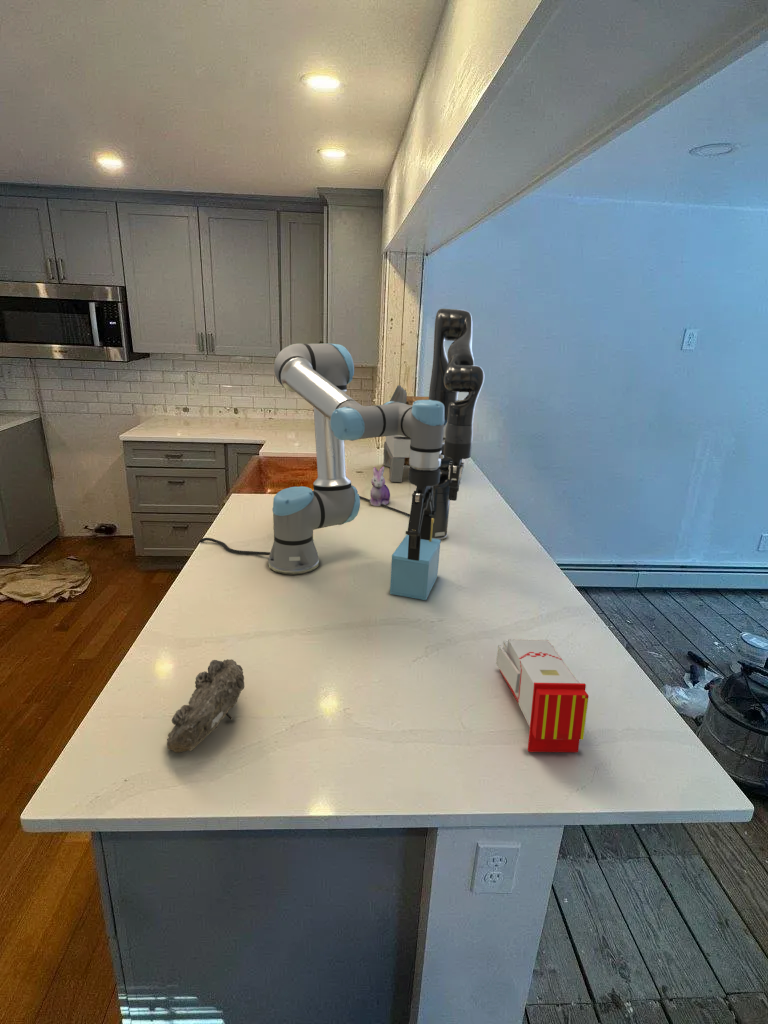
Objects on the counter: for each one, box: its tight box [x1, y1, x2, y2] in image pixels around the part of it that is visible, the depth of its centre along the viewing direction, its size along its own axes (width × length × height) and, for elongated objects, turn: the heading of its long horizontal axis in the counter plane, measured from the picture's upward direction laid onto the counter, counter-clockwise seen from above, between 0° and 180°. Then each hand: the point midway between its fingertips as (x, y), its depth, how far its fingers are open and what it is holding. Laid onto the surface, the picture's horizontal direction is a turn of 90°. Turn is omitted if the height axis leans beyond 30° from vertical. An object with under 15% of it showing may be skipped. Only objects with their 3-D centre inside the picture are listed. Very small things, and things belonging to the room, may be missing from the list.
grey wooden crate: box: [383, 384, 461, 483], centre depth 268 cm, size 34×33×41 cm
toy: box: [495, 638, 589, 753], centre depth 114 cm, size 12×13×30 cm
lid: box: [391, 518, 442, 565], centre depth 159 cm, size 16×10×8 cm, turn 163°
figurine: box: [369, 465, 391, 507], centre depth 228 cm, size 9×10×15 cm
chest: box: [389, 544, 441, 601], centre depth 162 cm, size 16×10×11 cm
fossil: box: [166, 658, 245, 754], centre depth 106 cm, size 22×10×15 cm
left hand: (419, 549), depth 142 cm, fingers open, 13 cm apart
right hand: (453, 495), depth 161 cm, fingers open, 8 cm apart
